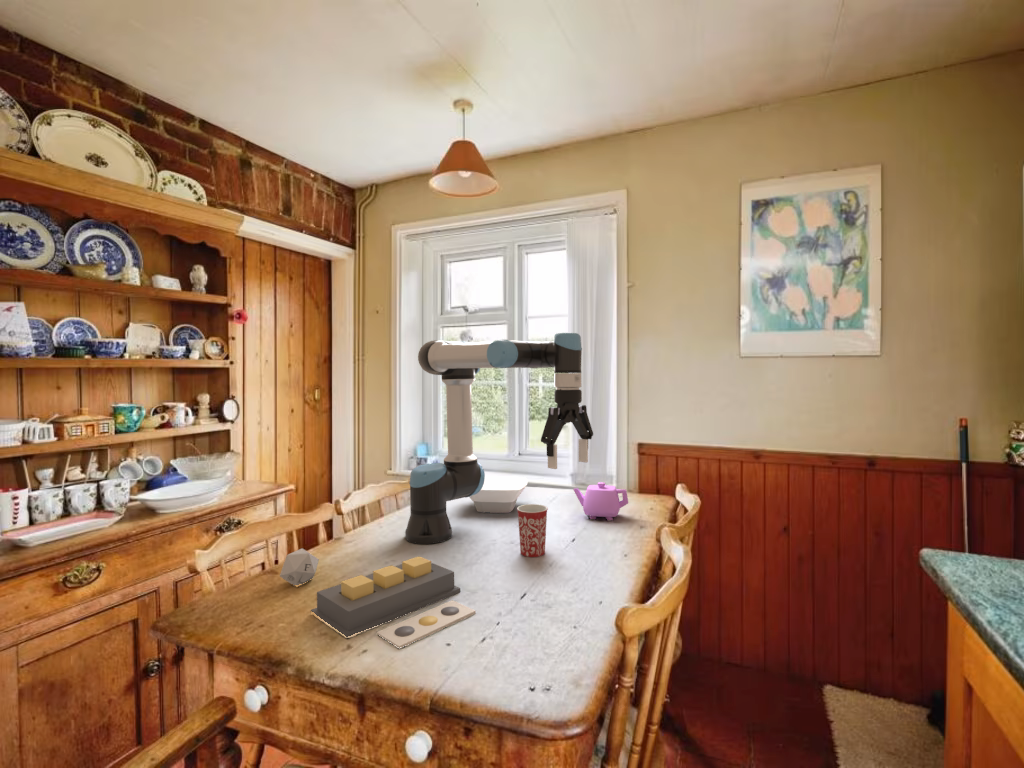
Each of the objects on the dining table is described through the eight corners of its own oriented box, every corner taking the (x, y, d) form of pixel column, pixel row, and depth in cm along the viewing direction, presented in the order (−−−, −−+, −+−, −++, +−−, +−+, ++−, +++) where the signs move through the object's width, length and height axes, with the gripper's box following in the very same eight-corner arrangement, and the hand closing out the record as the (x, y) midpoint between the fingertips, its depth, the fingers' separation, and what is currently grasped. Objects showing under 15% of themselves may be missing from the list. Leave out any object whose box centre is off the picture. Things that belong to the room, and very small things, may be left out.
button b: (373, 588, 119) (373, 571, 118) (391, 581, 122) (391, 565, 122) (385, 594, 115) (385, 576, 115) (403, 587, 119) (403, 570, 119)
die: (275, 594, 126) (293, 565, 124) (273, 566, 133) (291, 538, 130) (308, 596, 131) (326, 569, 129) (304, 569, 138) (322, 542, 136)
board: (310, 614, 113) (310, 592, 113) (420, 574, 135) (420, 556, 135) (346, 639, 102) (346, 614, 102) (460, 592, 124) (459, 571, 124)
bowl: (471, 500, 216) (471, 476, 216) (530, 501, 212) (530, 477, 212) (457, 515, 192) (457, 488, 192) (523, 517, 188) (523, 490, 188)
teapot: (629, 513, 192) (628, 480, 192) (627, 523, 180) (627, 487, 180) (576, 510, 197) (575, 478, 197) (571, 519, 185) (571, 485, 185)
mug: (539, 560, 145) (539, 513, 144) (512, 555, 149) (511, 509, 149) (558, 547, 155) (557, 503, 155) (531, 542, 160) (531, 500, 160)
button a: (341, 599, 113) (341, 581, 113) (361, 592, 116) (361, 574, 116) (353, 606, 109) (352, 587, 109) (373, 598, 113) (373, 580, 113)
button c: (402, 577, 124) (402, 561, 124) (419, 572, 128) (418, 556, 128) (414, 583, 121) (414, 566, 121) (431, 577, 125) (431, 561, 124)
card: (376, 635, 104) (376, 631, 104) (452, 602, 118) (452, 599, 118) (399, 649, 98) (399, 645, 98) (475, 613, 113) (475, 610, 113)
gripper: (548, 390, 130) (549, 473, 130) (605, 387, 147) (605, 460, 148) (527, 389, 135) (527, 469, 135) (584, 387, 152) (584, 457, 153)
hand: (568, 465), depth 141 cm, fingers open, 13 cm apart
